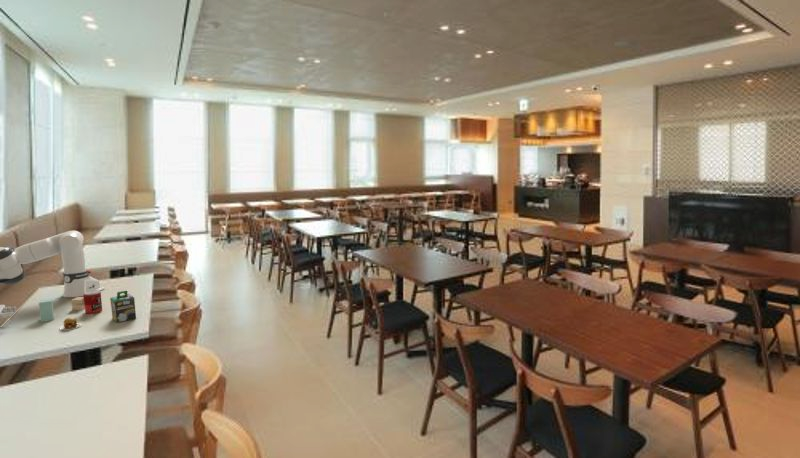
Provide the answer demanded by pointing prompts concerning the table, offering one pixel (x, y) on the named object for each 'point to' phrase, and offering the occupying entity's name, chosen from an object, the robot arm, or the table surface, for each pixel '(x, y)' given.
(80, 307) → the oak block
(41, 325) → the table surface
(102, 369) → the table surface
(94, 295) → the canned food
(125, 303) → the chalk box
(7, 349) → the table surface
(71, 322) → the hamburger
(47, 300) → the teal block
